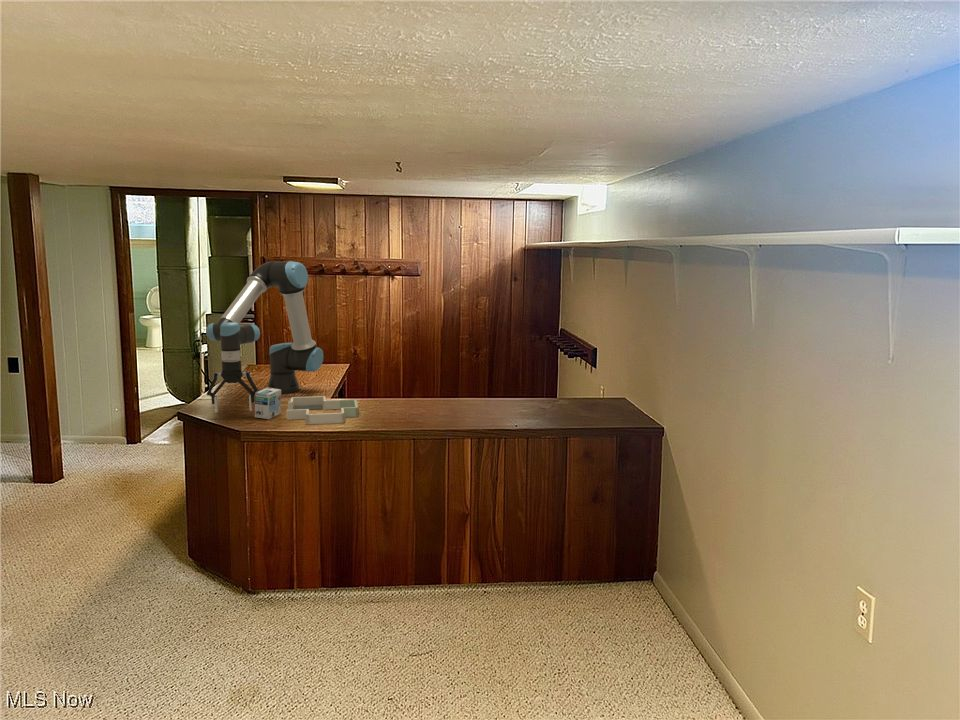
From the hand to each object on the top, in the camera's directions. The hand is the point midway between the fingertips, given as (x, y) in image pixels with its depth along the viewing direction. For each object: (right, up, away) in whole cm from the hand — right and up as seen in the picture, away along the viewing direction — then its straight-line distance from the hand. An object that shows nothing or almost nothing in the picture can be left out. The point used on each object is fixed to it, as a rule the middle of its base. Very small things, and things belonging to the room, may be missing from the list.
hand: (233, 411), depth 299 cm
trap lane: (+35, -2, +8) cm, 36 cm away
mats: (+33, -2, +8) cm, 34 cm away
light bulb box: (+13, -2, +3) cm, 14 cm away
